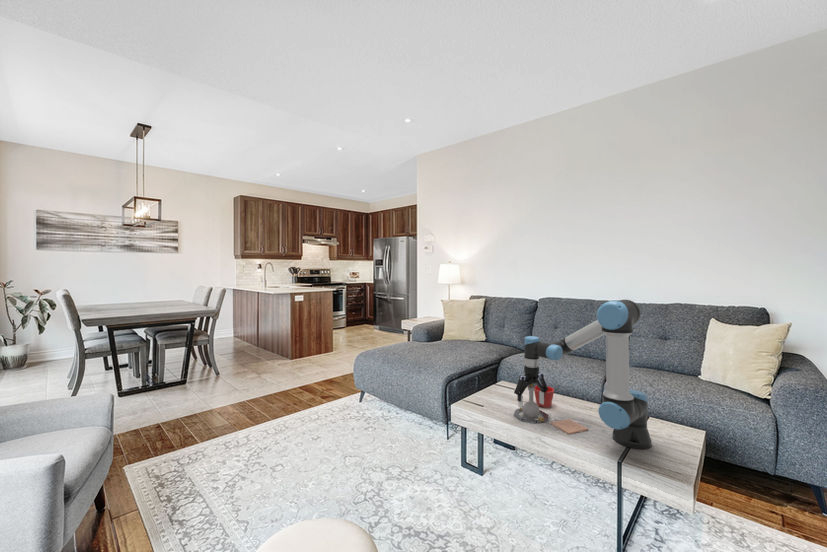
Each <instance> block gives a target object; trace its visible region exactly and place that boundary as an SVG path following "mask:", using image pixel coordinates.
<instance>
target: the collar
mask: <svg viewBox="0 0 827 552" xmlns="http://www.w3.org/2000/svg"><path fill="white" fill-rule="evenodd" d="M522 409H523V408H520V407H519V408H516V409H515V411H514V412H513V416H514V417H515V418H516V419H518V420H520V421H521V422H523V423H529V424H534V425H535V424H537V425H539V424H543V423H548V421H549V418H550V417H549V414H548V413H546V412H545V411H543V410H541V409H539V410H540V413H539V415H541V416H538V418H537V419H529V418H526V417H523V416H521V415H520V413H523V411H522ZM542 416H543V417H542Z"/></svg>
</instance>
